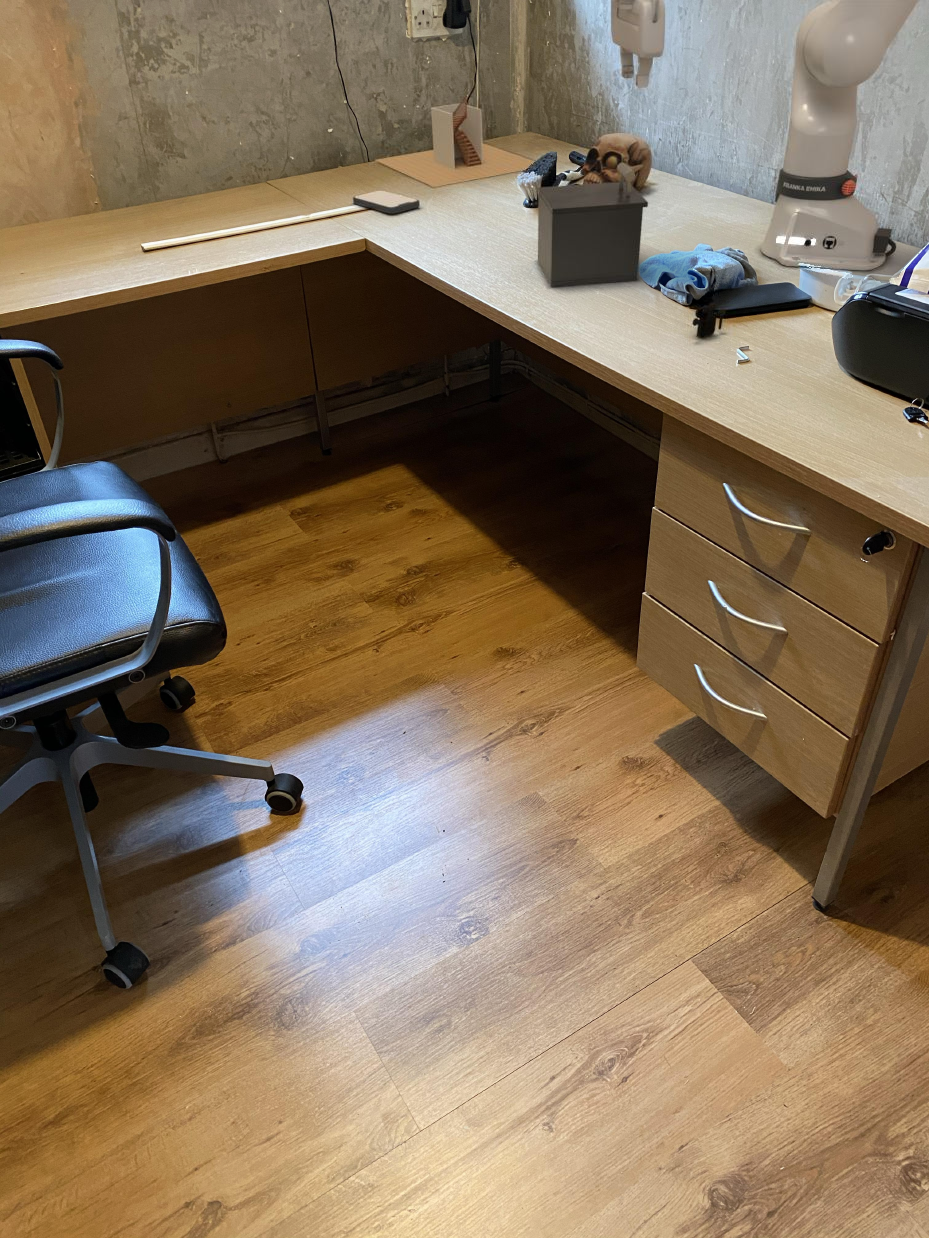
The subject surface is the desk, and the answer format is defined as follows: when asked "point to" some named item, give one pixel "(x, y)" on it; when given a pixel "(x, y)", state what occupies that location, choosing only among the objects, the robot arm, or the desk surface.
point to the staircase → (456, 150)
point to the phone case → (386, 202)
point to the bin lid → (595, 195)
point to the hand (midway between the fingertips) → (634, 82)
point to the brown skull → (617, 159)
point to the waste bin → (589, 245)
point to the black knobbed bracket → (707, 320)
